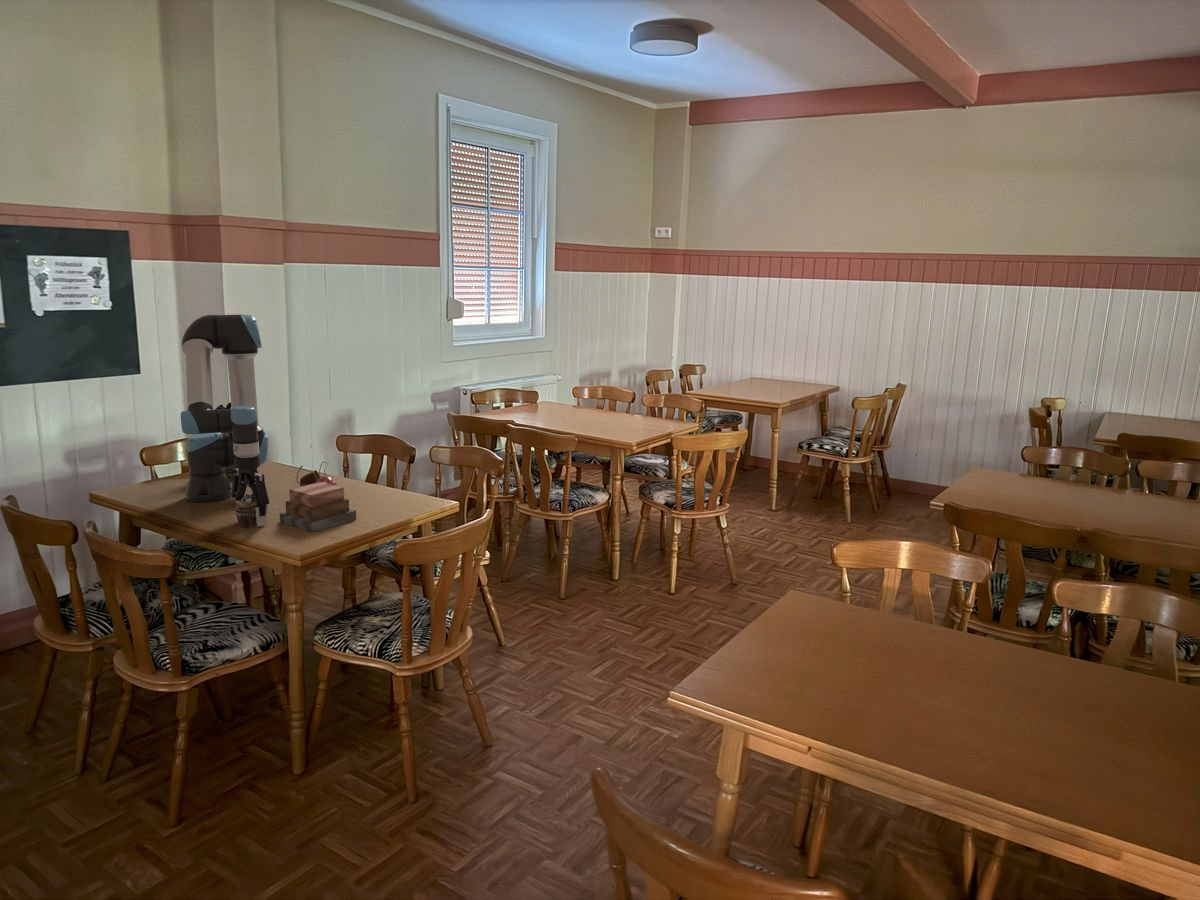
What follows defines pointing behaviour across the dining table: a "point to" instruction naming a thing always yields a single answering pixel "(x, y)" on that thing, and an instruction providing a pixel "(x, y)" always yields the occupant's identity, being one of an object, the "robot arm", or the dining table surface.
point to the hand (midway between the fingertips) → (251, 522)
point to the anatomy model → (315, 477)
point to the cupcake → (247, 511)
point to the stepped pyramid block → (317, 507)
